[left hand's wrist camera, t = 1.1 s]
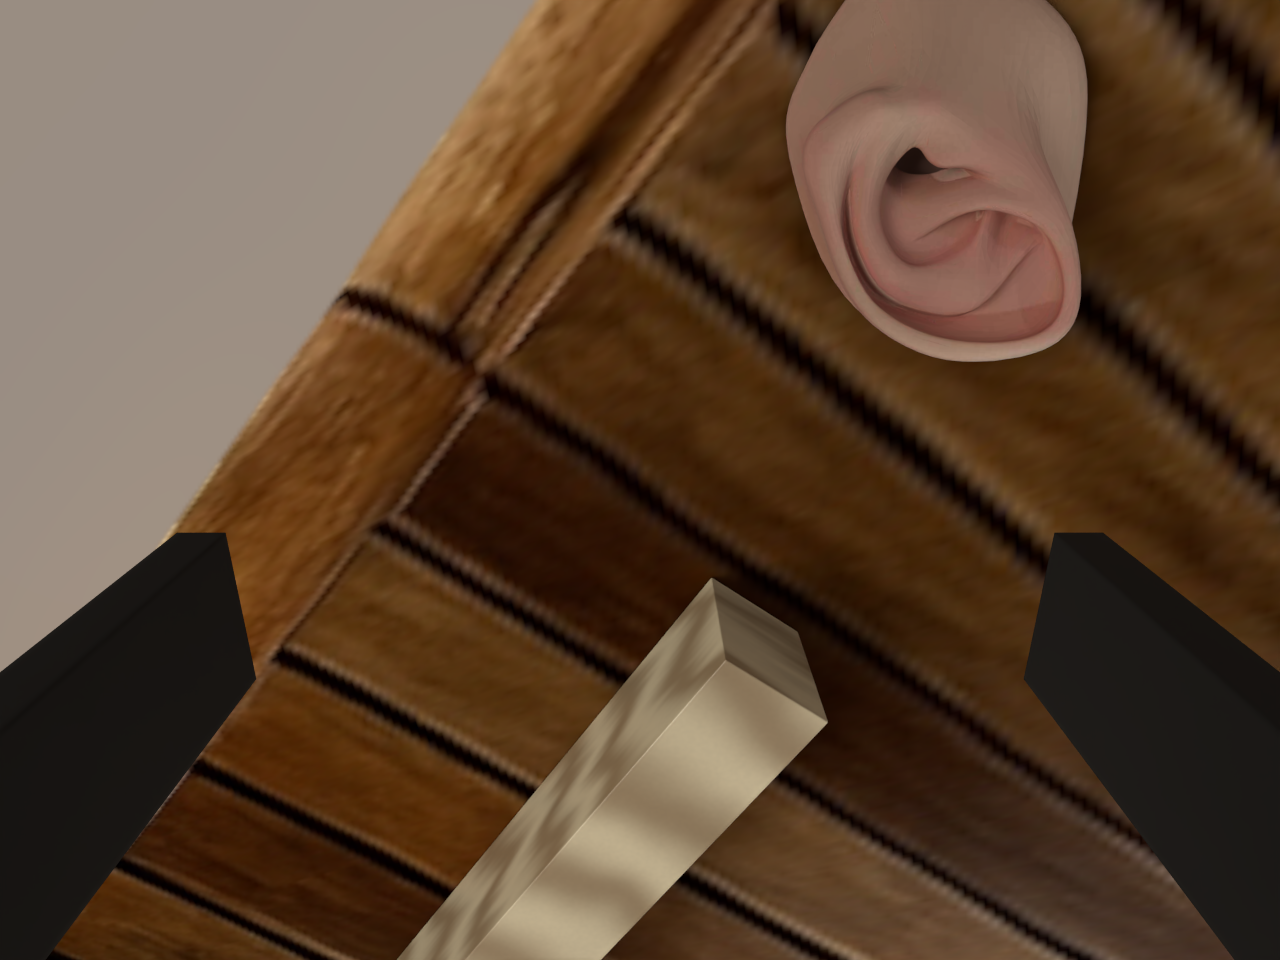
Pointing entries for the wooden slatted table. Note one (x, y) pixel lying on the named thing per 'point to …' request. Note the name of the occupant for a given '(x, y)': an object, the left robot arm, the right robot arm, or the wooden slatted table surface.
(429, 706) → the wooden slatted table surface
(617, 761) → the birch plank
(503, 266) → the wooden slatted table surface
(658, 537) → the wooden slatted table surface
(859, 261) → the anatomical model
